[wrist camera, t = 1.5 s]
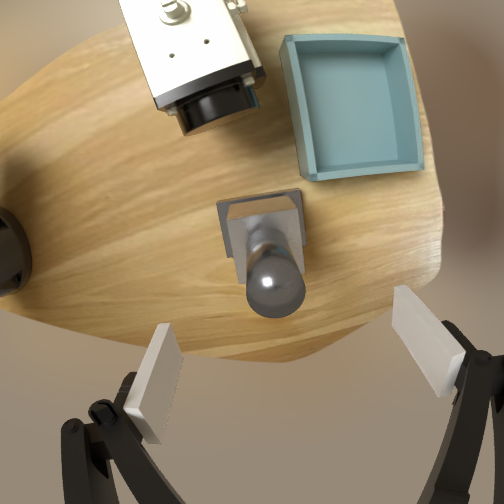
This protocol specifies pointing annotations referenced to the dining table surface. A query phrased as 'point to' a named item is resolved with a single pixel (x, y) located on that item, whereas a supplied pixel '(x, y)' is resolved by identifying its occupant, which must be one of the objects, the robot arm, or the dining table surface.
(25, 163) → the dining table surface
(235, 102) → the ball valve
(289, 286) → the block with domed cylinder
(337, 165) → the bin
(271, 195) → the stud plate
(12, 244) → the robot arm
